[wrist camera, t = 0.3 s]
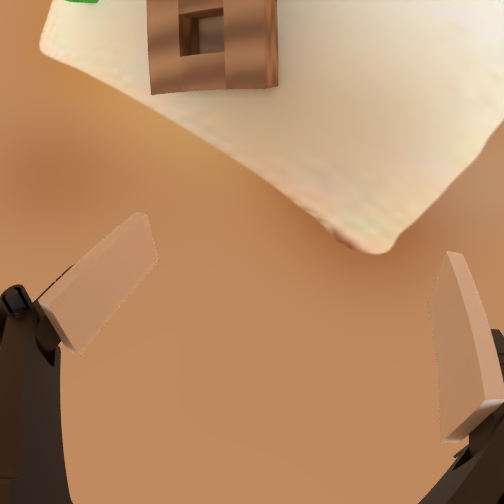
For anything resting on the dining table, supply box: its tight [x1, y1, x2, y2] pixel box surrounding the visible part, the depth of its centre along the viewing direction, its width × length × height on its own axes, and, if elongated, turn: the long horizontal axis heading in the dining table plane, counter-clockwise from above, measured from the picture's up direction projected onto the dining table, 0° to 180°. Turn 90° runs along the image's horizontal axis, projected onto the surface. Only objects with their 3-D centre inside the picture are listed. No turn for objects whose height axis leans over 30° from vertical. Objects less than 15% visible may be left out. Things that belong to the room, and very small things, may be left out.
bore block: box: [147, 0, 278, 95], centre depth 29 cm, size 14×14×6 cm
